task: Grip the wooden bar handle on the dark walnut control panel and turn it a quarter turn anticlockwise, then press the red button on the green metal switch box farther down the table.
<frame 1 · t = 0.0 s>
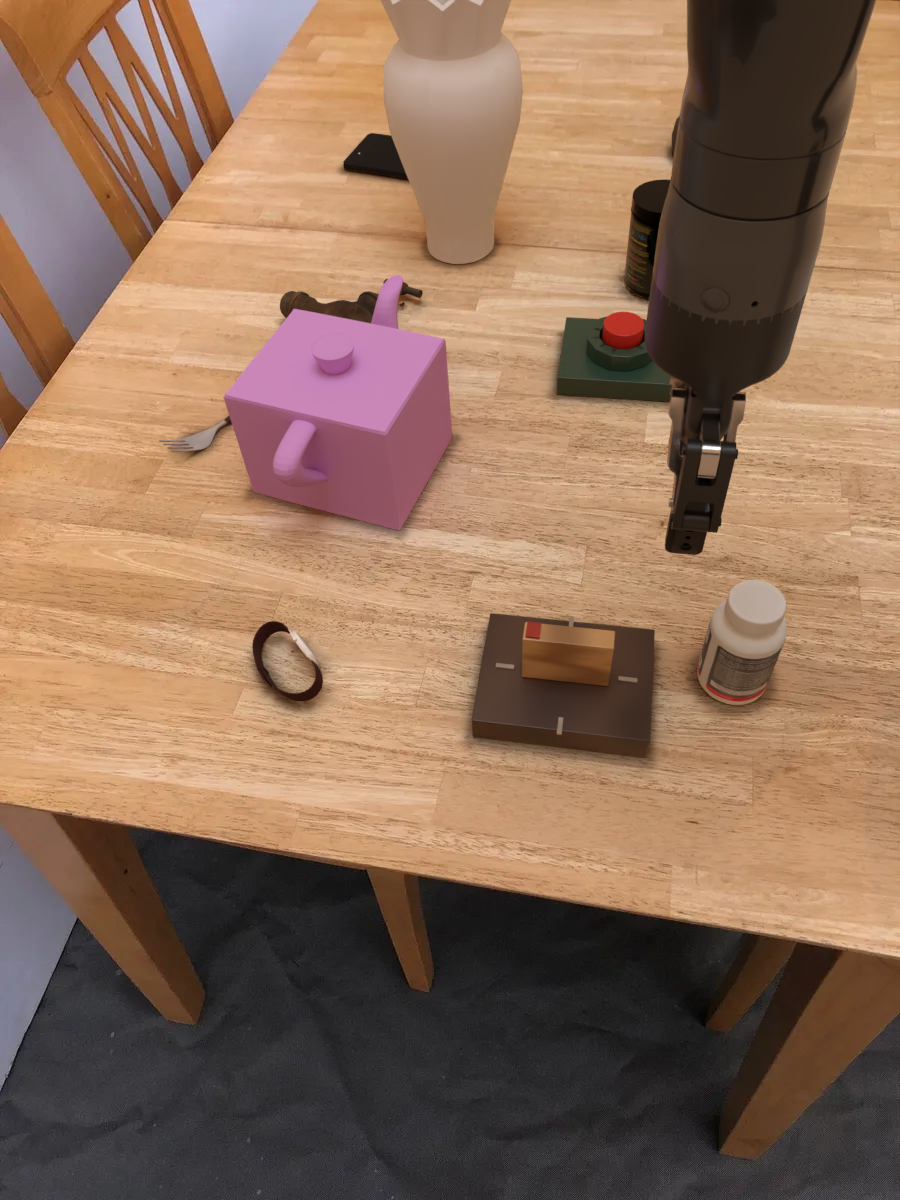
hand: (683, 498, 58), 19 cm above the table, tool pointing down, fingers open, 8 cm apart
switch box: (619, 367, 96), on the table
button: (623, 330, 92), point 4 cm above the table, slide at 0.1 cm
supplement container: (653, 285, 104), on the table
cell phone: (417, 164, 124), on the table
teapot: (360, 458, 90), on the table
vase: (460, 247, 111), on the table
panel: (564, 691, 72), on the table
watch: (291, 672, 75), on the table
fork: (235, 421, 94), on the table
flashlight: (707, 154, 121), on the table
handle: (567, 653, 68), point 5 cm above the table, hinge at 0.0°
pill bottle: (730, 678, 72), on the table
faucet: (365, 330, 102), on the table
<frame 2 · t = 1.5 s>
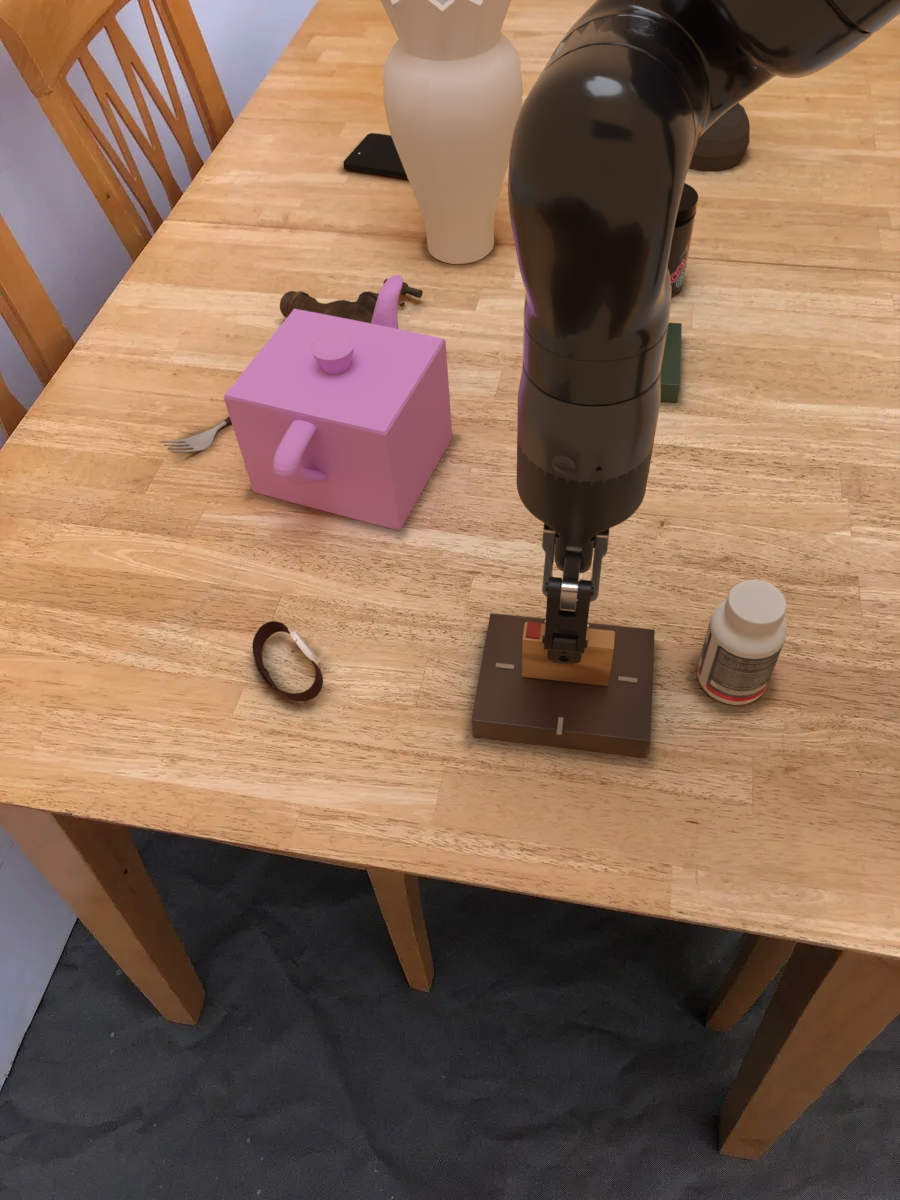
hand: (569, 606, 63), 11 cm above the table, tool pointing down, fingers open, 8 cm apart
nothing on the table moved.
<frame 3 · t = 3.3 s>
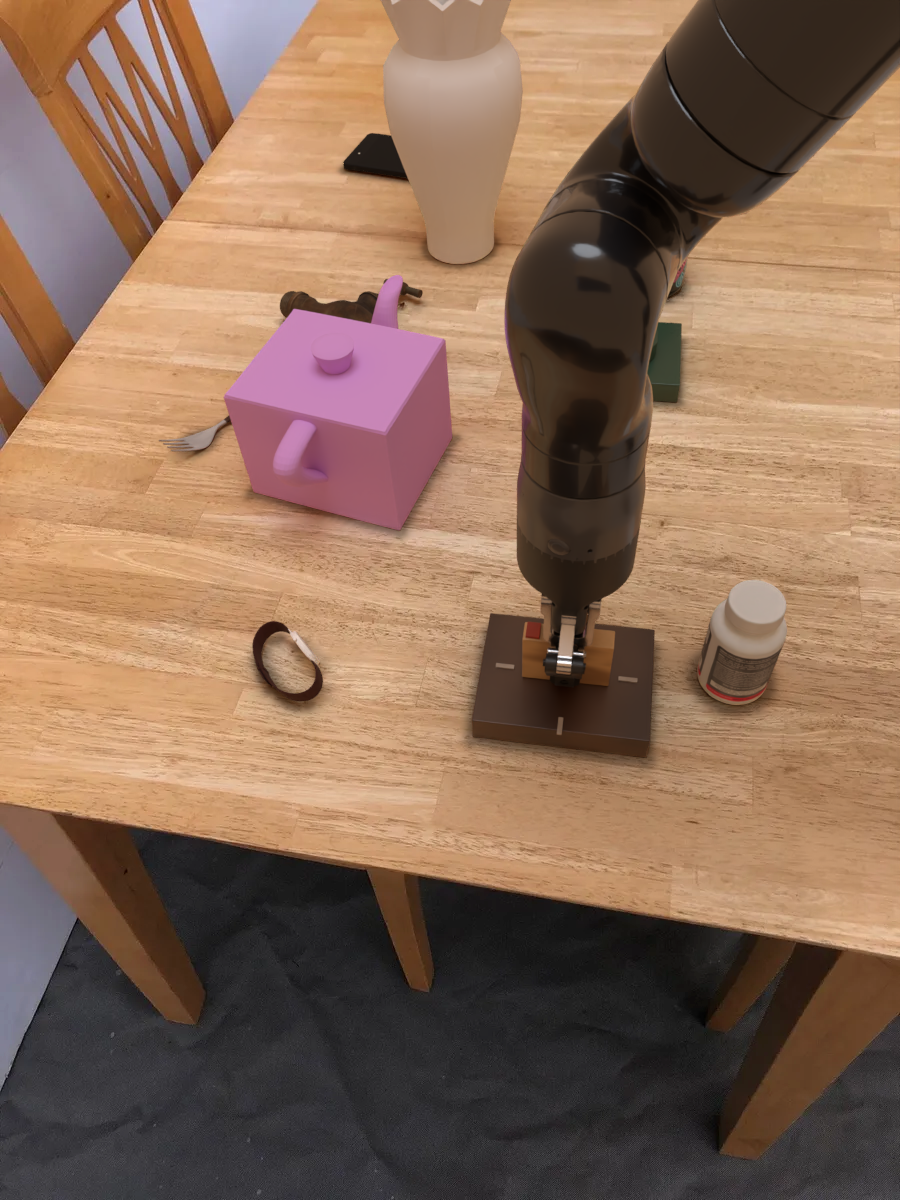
hand: (566, 667, 70), 3 cm above the table, tool pointing down, fingers closed on handle
handle: (567, 653, 68), point 5 cm above the table, hinge at 0.0°, touching gripper
everything else where it was.
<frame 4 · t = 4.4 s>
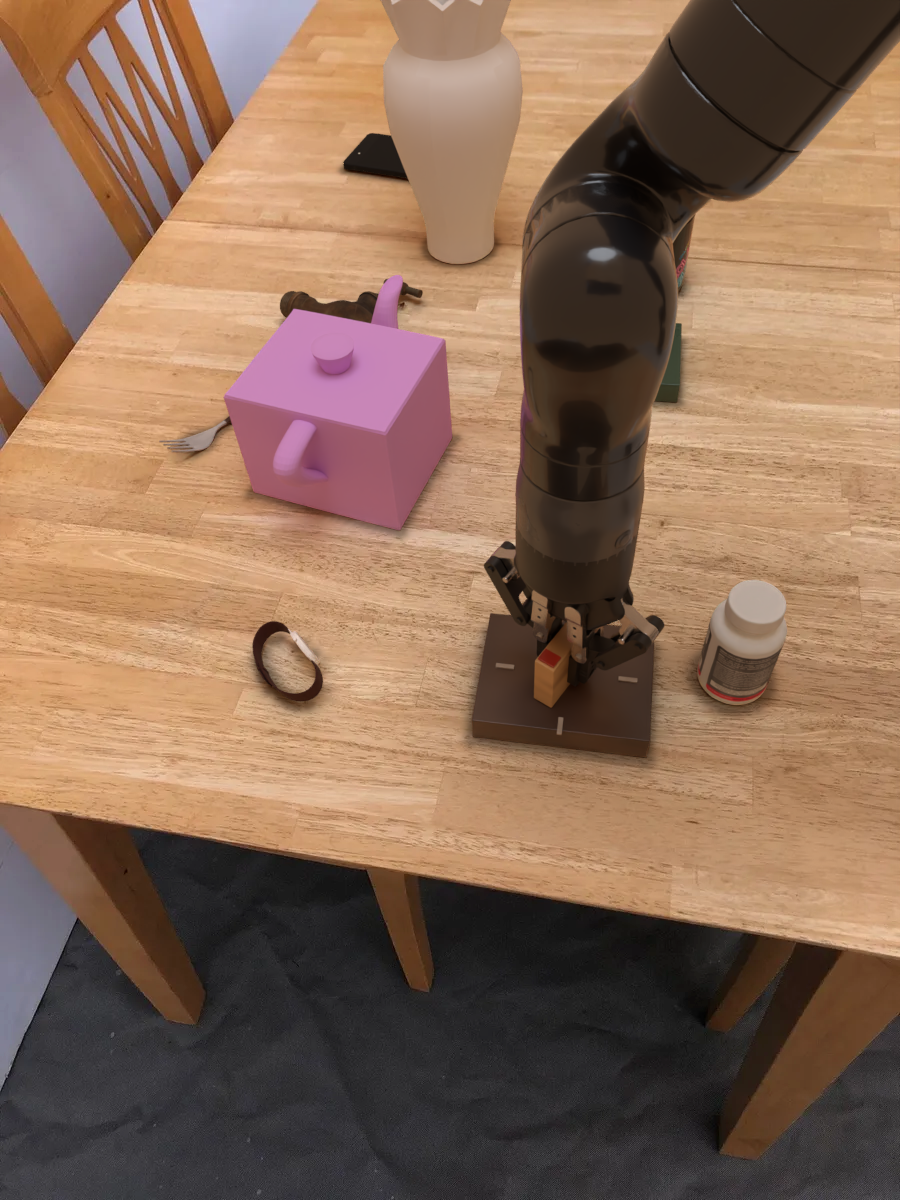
hand: (565, 668, 70), 3 cm above the table, tool pointing down, fingers closed on handle
handle: (567, 653, 68), point 5 cm above the table, hinge at 63.0°, touching gripper
everything else where it was.
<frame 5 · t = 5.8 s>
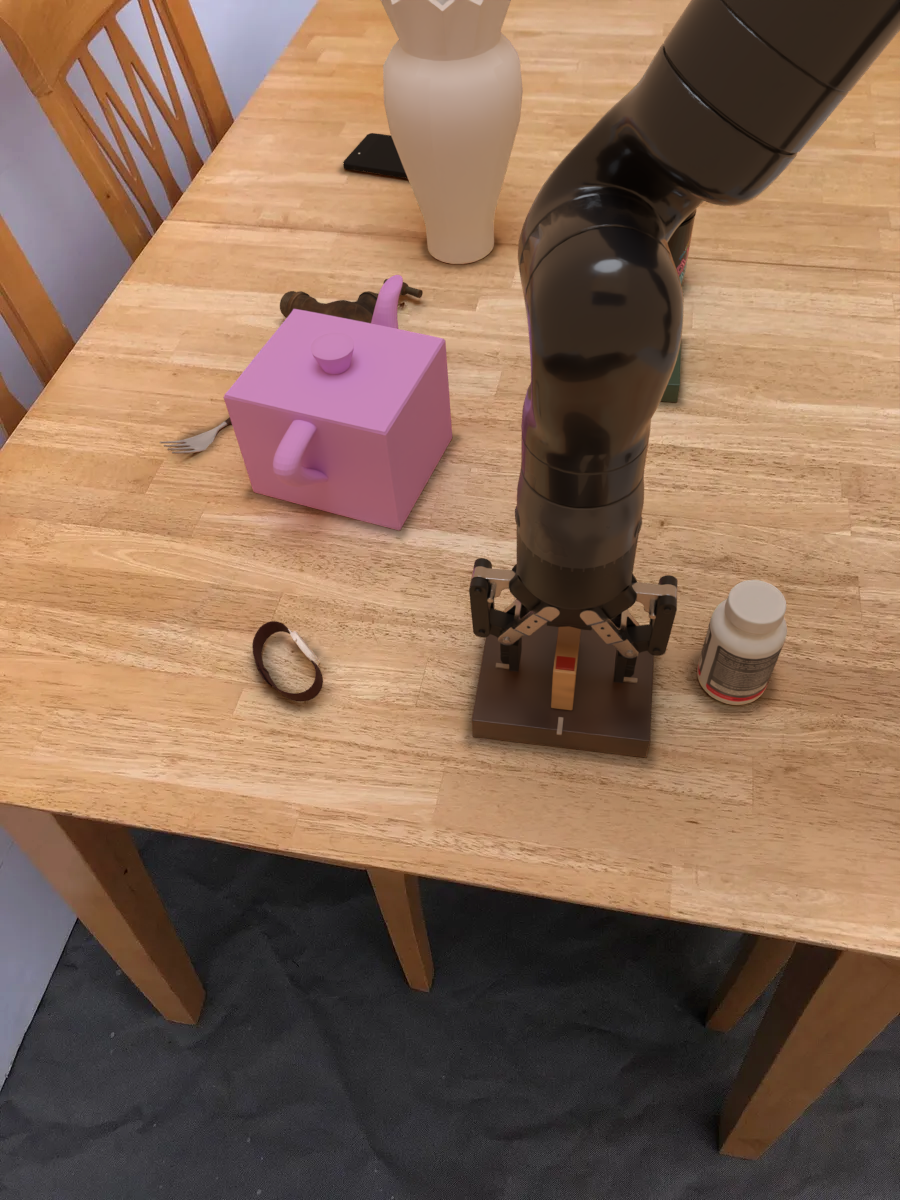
hand: (566, 666, 69), 3 cm above the table, tool pointing down, fingers open, 7 cm apart
handle: (567, 653, 68), point 5 cm above the table, hinge at 89.7°
everything else where it was.
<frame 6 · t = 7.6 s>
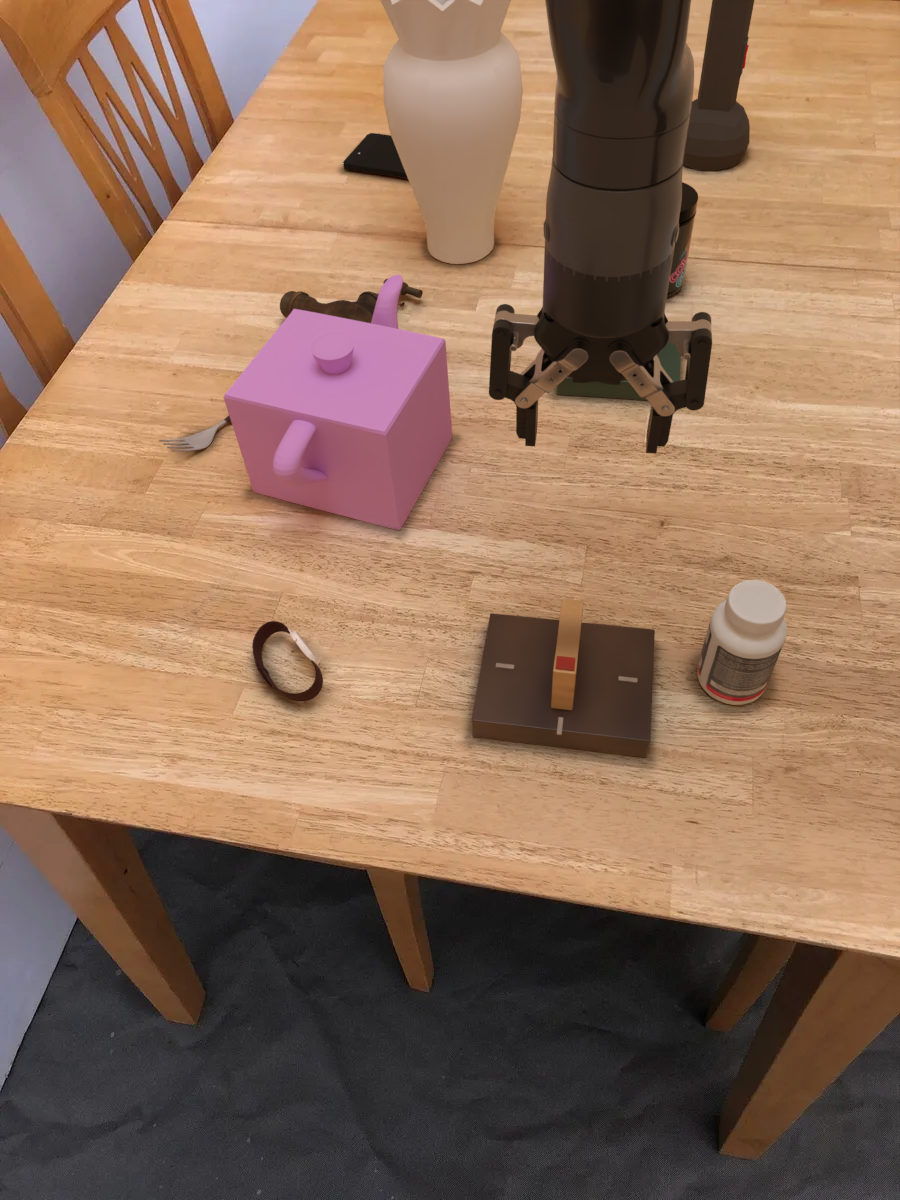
hand: (590, 442, 66), 16 cm above the table, tool pointing down, fingers open, 8 cm apart
nothing on the table moved.
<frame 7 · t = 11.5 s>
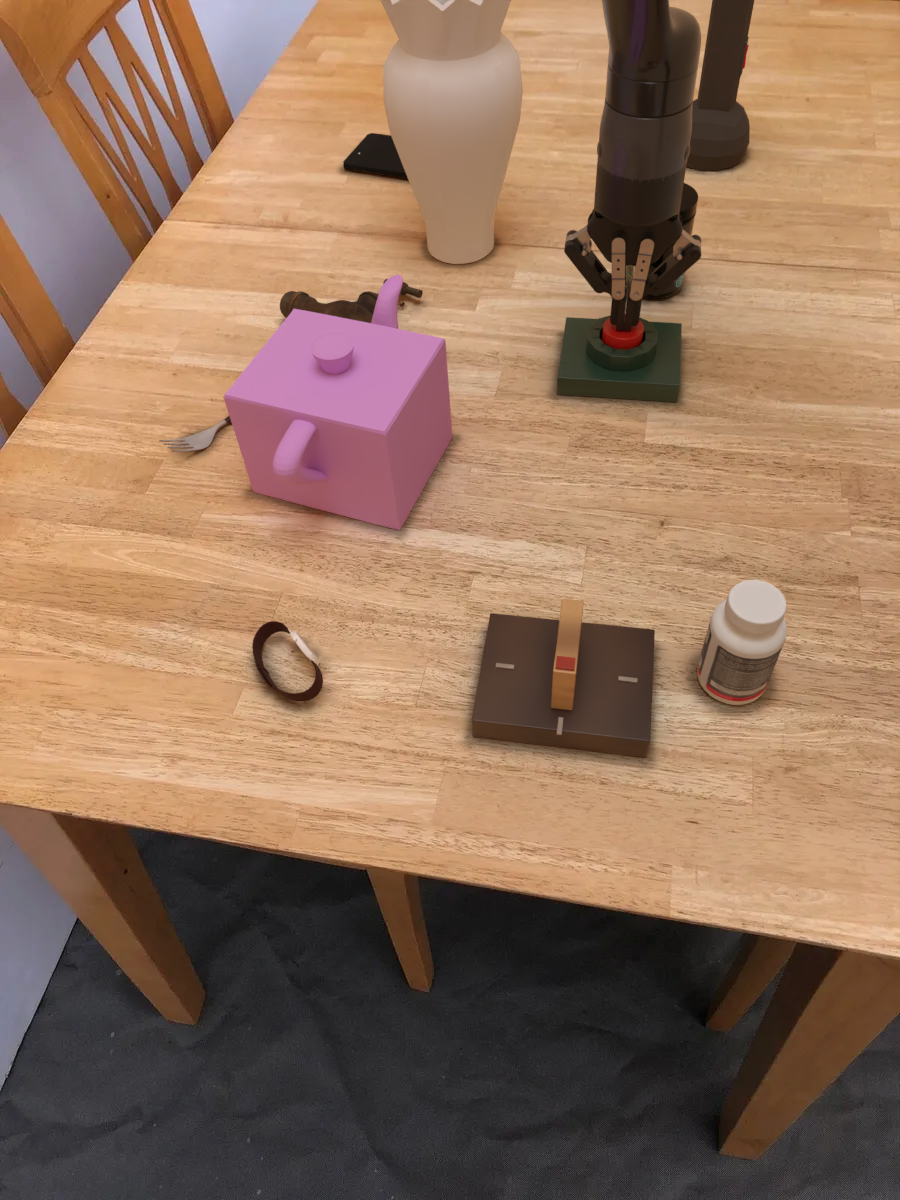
hand: (623, 326, 92), 5 cm above the table, tool pointing down, fingers closed
button: (622, 333, 92), point 4 cm above the table, slide at -0.3 cm, touching gripper
everything else where it was.
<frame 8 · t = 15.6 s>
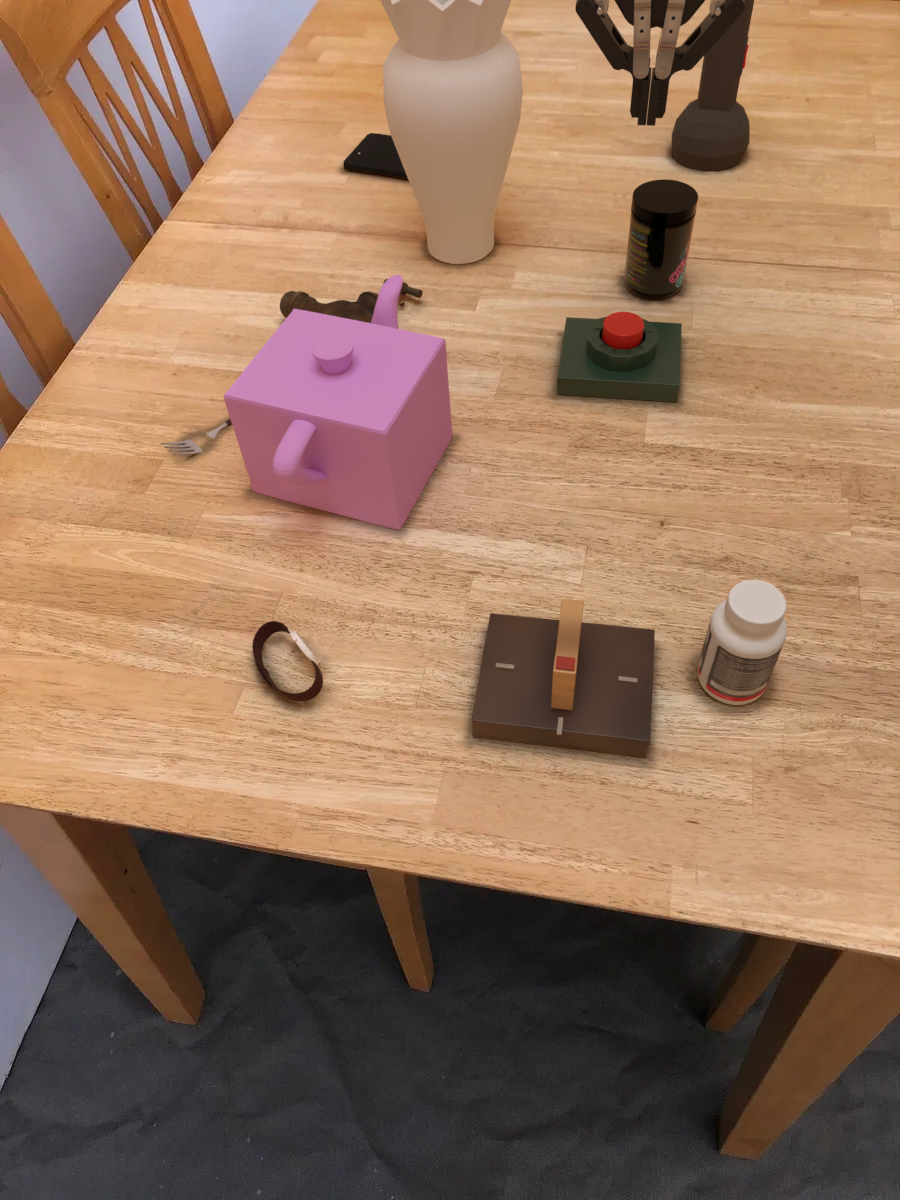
hand: (646, 121, 76), 25 cm above the table, tool pointing down, fingers closed
button: (623, 330, 92), point 4 cm above the table, slide at 0.1 cm
everything else where it was.
at the end: handle at +90° (first picture: +0°); button pushed in 1.0 cm at the most during the clip, back to where it started at the end; button slide at 0.1 cm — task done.
